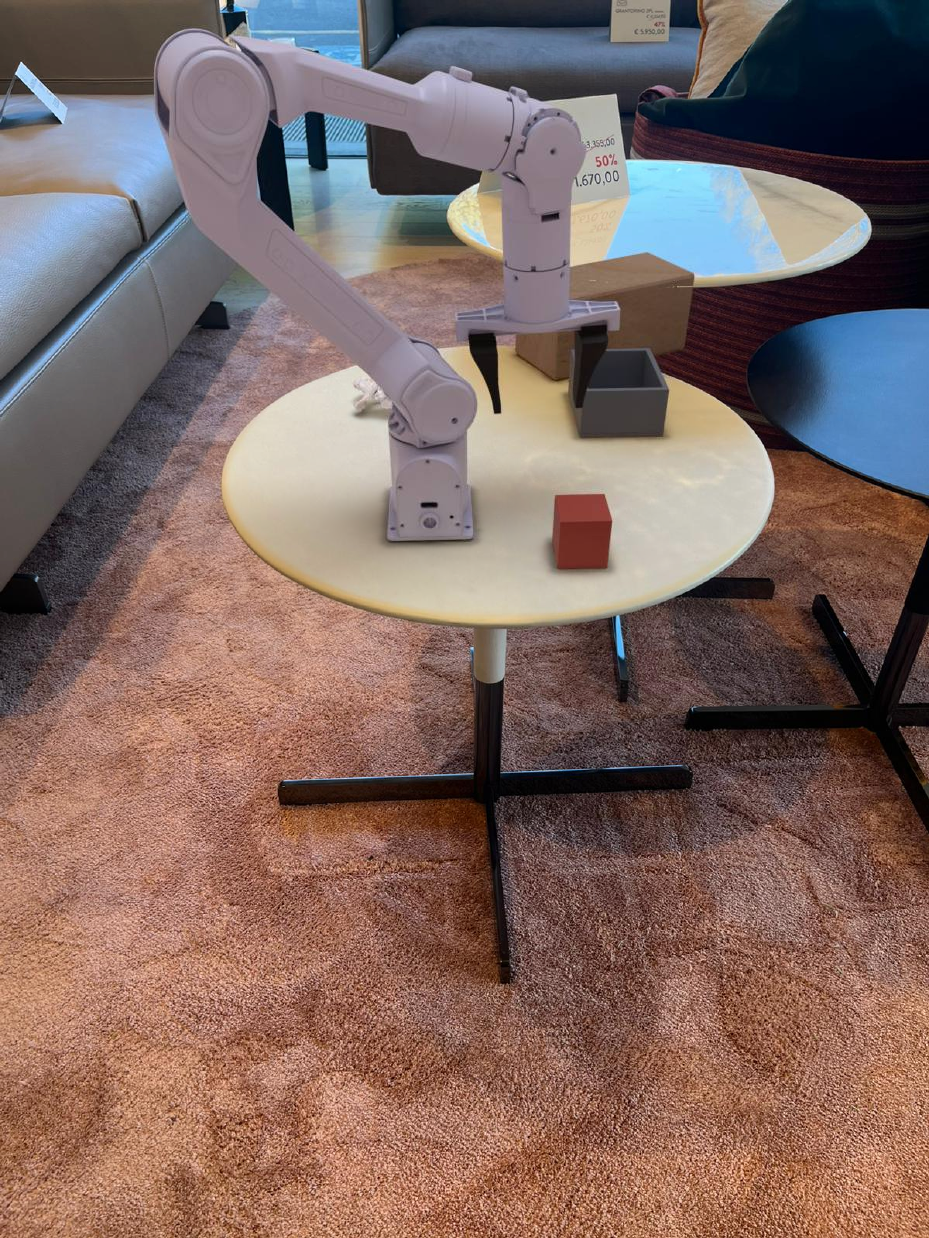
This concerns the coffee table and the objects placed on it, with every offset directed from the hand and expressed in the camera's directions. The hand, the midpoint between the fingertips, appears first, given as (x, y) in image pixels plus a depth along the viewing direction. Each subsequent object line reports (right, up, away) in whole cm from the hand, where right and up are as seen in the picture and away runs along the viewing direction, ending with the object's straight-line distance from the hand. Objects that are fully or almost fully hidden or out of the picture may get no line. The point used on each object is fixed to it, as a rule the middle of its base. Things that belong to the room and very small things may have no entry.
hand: (537, 406), depth 87 cm
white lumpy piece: (-16, +5, +20) cm, 26 cm away
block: (+4, -14, -4) cm, 15 cm away
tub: (+10, +3, +18) cm, 21 cm away
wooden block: (+2, +15, +26) cm, 30 cm away
